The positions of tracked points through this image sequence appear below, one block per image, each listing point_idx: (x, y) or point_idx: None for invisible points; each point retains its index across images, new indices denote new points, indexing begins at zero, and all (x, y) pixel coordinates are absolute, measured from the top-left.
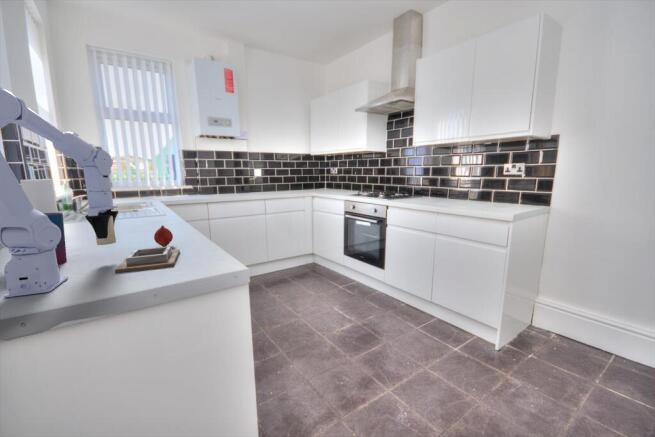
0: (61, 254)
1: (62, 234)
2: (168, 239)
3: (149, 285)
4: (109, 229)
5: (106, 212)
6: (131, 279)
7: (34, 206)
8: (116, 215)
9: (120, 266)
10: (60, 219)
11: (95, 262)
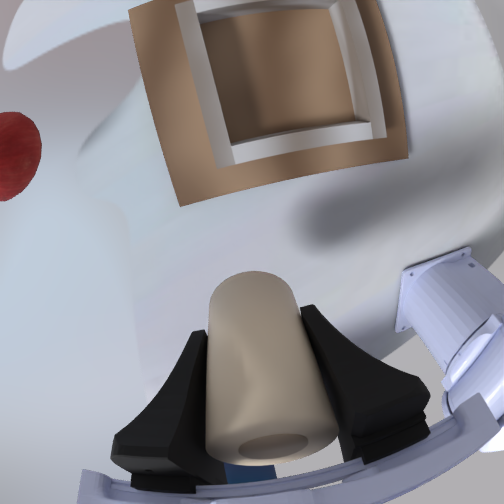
0: None
1: None
2: (22, 114)
3: (482, 46)
4: (295, 335)
5: (203, 477)
6: (454, 89)
7: None
8: (135, 425)
9: (379, 153)
10: None
11: None
